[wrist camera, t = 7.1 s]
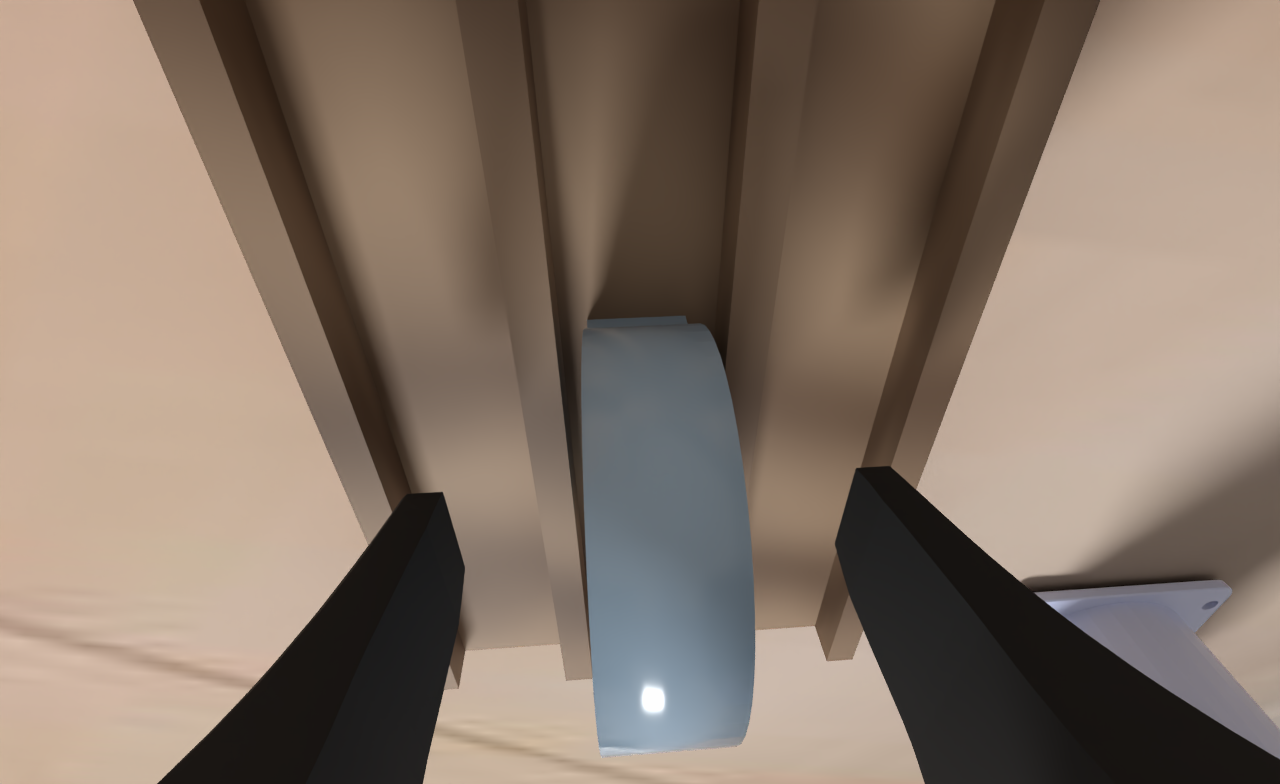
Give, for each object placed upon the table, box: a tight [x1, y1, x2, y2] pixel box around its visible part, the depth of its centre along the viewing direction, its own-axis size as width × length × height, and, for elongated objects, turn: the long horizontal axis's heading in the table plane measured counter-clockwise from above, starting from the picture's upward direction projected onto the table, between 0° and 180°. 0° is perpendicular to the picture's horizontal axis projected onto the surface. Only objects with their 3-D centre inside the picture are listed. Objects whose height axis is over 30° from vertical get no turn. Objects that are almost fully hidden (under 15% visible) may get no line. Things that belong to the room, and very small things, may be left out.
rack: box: [133, 0, 1100, 690], centre depth 13 cm, size 19×14×2 cm
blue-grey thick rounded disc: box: [581, 316, 755, 758], centre depth 11 cm, size 7×2×7 cm, turn 0°
